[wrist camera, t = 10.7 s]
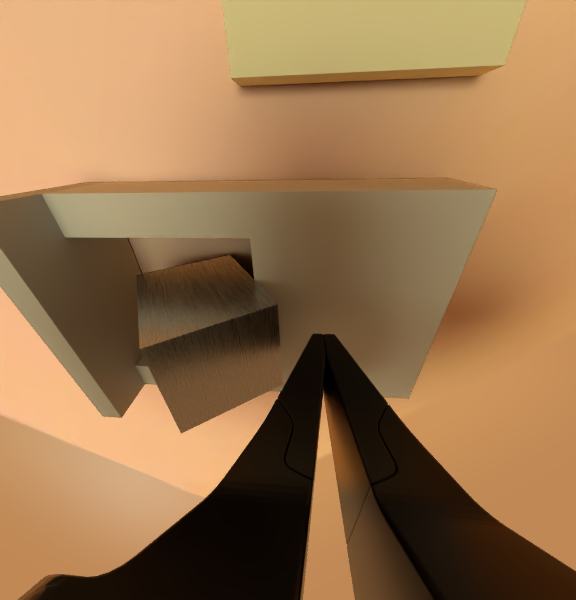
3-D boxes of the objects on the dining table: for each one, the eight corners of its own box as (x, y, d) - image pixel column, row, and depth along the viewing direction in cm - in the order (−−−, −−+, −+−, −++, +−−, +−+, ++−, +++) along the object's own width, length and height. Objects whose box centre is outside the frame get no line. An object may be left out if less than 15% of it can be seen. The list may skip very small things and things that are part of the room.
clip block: (277, 304, 8) (139, 349, 6) (282, 384, 10) (181, 433, 8) (230, 255, 11) (136, 275, 10) (241, 321, 14) (165, 346, 12)
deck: (447, 178, 9) (557, 203, 5) (391, 355, 15) (423, 437, 11) (84, 182, 11) (-63, 206, 6) (156, 345, 16) (102, 416, 12)
